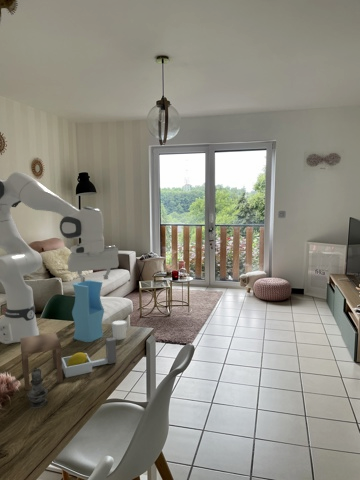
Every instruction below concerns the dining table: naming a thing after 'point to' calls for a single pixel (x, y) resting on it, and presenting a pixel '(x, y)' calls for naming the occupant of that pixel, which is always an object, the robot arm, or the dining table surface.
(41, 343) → the tunnel
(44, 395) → the gray stone ornament
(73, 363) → the lemon
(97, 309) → the blue angular vessel
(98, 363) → the slider
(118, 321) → the grey white cylinder
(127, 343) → the dining table surface
